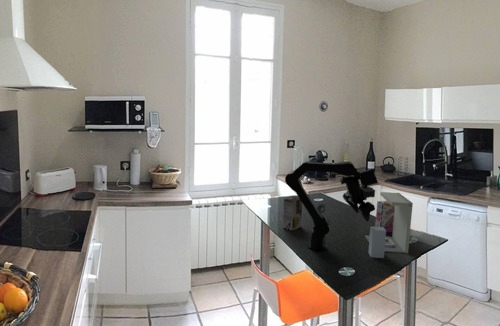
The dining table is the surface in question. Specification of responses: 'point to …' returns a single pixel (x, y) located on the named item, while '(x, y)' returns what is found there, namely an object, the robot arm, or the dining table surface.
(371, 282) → the dining table surface
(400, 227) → the white open shelf
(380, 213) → the candy bar box
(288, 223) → the coffee box
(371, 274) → the dining table surface
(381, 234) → the tall gray box
